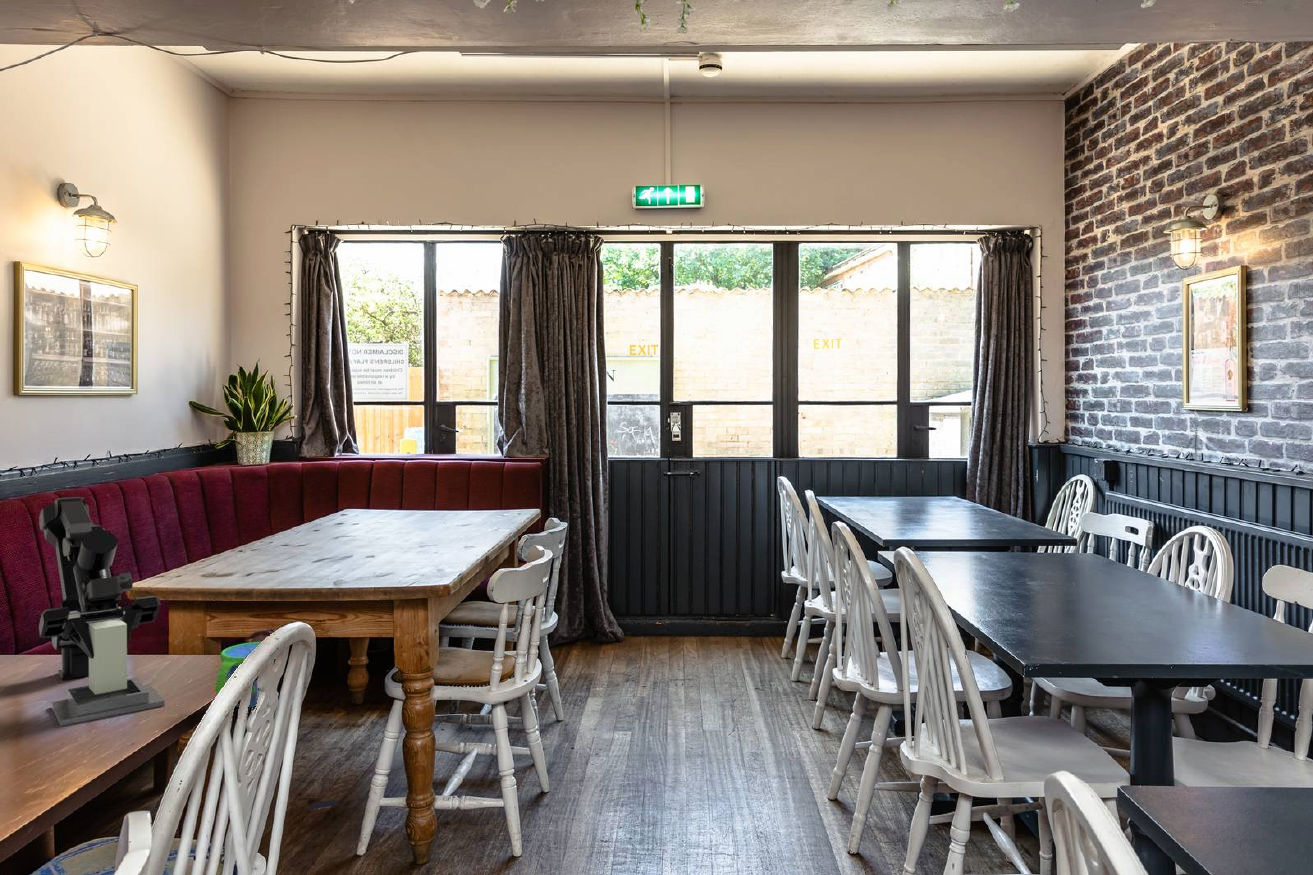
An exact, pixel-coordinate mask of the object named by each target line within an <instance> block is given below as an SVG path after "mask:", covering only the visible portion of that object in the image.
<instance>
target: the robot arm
mask: <svg viewBox="0 0 1313 875" xmlns="http://www.w3.org/2000/svg"><path fill="white" fill-rule="evenodd" d="M38 520H39V521H38V522H39V530H40V531H43V535H44V540H45V541H46V542H47V543H48V544H50V545H51V546H52V547H53V548H55V554H56V561H57V566H58V574H59V580H60V586H61V593H62V600H63V601H62V603H61V605H60V606H59V607H56V608H55V607H54V608H48V609H45V610H43V612H42V613H41V615H40V616H41V617H40V619H39V624H38V632H39V638H41V639H49V638H51V645H52V647H53V648H54V650H56V651H57V650H61V669H58V670H57V674H58V676H59V677H60V679H61V680H68V679H69V680H70V679H75V678H81V677H89V657H90V658H91V659H92V658H94V651H93V646H92V643H91V640H90V637H89V623H96V622H103V621H110V620H117V619H120V620H122V621H123V622H124V623H126V624H127V652H128V651H129V646H130V640H131V634H132V630H134V629H136V628H139V625H145V624H151V623H153V622H155V621H156V620H157V617H158V615H159V613H160V609H161V601H160V598H158V597H157V595H151V596H150V595H149V596H142V597H134V600H133V603H132V605H128V606H118V604H121V601H122V597H121V595H122V594H123V592H129V591H131V590H132V589H133V578H132V575H131V572H124V573H122V572H121V573H119V574H118V575H117V576H112V575H111V571H110V570H111V569H110V567H112V565H113V563H114V562H113V561H114V559H115V555H116V550H117V549H118V543H119V542H118V541H119V539H118V537H117V536H116V535H115V534H114V533H112V531H111V532H110V531H109V530H106V529H105V528H104V526H103V525H97V524H95V523H93V521H92V519H91V517H90V509H89V505H88V504H86V499H85V498H84V497H81V496H76V497H75V496H74V497H73V496H71V497H60V498H56V499H55V501H54V502H53V503H51V504H49V505H47V506H45V507H42V508H41V511H40V513H39V519H38Z"/></svg>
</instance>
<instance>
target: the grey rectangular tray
mask: <svg viewBox="0 0 1313 875" xmlns="http://www.w3.org/2000/svg"><path fill="white" fill-rule="evenodd" d="M165 703H166V702H165V698H163V697H162V696H161V695H160V694H159V692H157V690H156V689H155V687H154V686H152V685H151V684H150V683H149V684H144V685H143V684H142V683H141V681H140V680H138V678H137V677H131V678H127V689H121V690H116V691H111V692H106V693H101V694H94V693H93V691H92V690H91V689H90V688H89V685H85V686H79V687H73V688H68V689H67V698H66V699H61V700H57V701H56V700H54V701H51V702H50V708H51V710H52V711H53V714H54V716H55V718H56V720H57V722H58V723H59V726H60V727H63V726H69V725H73V724H80V723H85V722H89V721H94V720H98V719H99V720H100V719H104V718H110V717H115V716H119V715H125V714H129V713H130V714H131V713H135V712H140V711H145V710H150V709H155V708H161V707H165V706H166V705H165Z"/></svg>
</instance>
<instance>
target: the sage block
mask: <svg viewBox="0 0 1313 875" xmlns="http://www.w3.org/2000/svg"><path fill="white" fill-rule="evenodd" d="M89 637H90V640H91V643H92V646H93V651H94V658H92V659H91V658H90V657H89V675H88V686H89V688H90V689H91V690H92V691H93V693H94V694H101V693H106V692H111V691H116V690H121V689H127V679H128V665H127V664H128V651H127V624H126V623H124V622H123V621H122V619H121V618H119V619H112V620H108V621H103V622H96V623H89Z"/></svg>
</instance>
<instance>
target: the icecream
mask: <svg viewBox="0 0 1313 875" xmlns="http://www.w3.org/2000/svg"><path fill="white" fill-rule="evenodd" d="M275 631H276V630H275V628H274V627H270V628H267V629H266V630H265V629H264V630H257V631H254V632H253V633H251V634H250V635H248V637H246V638H245V639H244V643H251V642H261V641H263V640H264V639H265V638H266V637H267V636H270V634H272V633H273V632H274V633H275Z"/></svg>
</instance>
